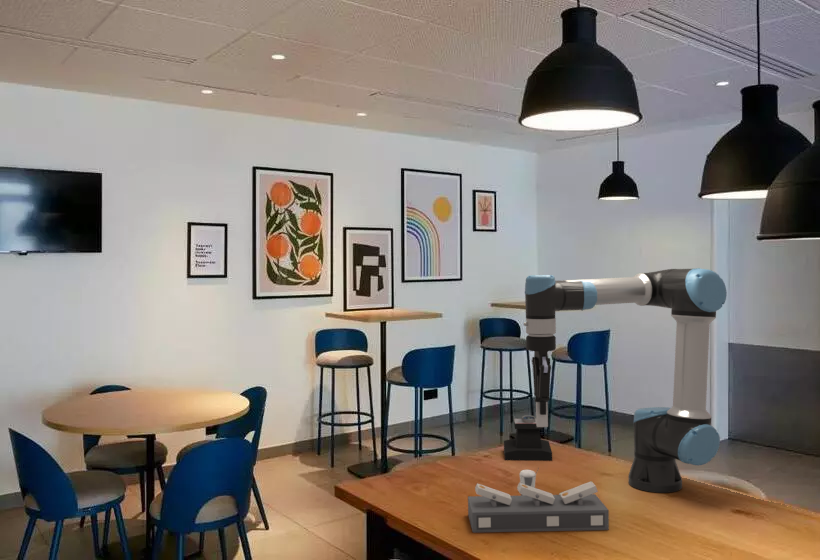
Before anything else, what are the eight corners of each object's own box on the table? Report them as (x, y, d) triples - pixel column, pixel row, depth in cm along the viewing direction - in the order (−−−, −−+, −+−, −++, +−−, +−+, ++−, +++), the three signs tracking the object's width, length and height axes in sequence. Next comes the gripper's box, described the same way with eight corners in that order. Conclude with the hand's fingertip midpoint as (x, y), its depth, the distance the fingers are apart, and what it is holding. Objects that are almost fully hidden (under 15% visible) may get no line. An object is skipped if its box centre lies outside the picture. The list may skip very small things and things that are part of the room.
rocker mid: (549, 498, 179) (551, 492, 179) (553, 505, 175) (555, 498, 175) (516, 487, 179) (519, 481, 179) (519, 493, 174) (522, 487, 174)
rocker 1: (507, 499, 179) (509, 493, 179) (510, 505, 174) (512, 499, 174) (474, 488, 179) (476, 482, 179) (476, 494, 174) (478, 488, 174)
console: (595, 512, 183) (595, 489, 183) (609, 530, 171) (608, 505, 171) (468, 515, 183) (467, 491, 183) (472, 532, 171) (472, 507, 170)
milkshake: (539, 506, 189) (538, 470, 189) (519, 505, 190) (518, 469, 190) (539, 500, 193) (538, 465, 193) (520, 499, 194) (519, 464, 194)
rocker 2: (593, 486, 179) (591, 480, 179) (598, 492, 175) (595, 485, 175) (561, 498, 179) (558, 492, 179) (565, 504, 175) (562, 498, 175)
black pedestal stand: (504, 422, 232) (503, 409, 247) (505, 463, 234) (503, 447, 249) (552, 422, 231) (547, 409, 246) (552, 464, 232) (547, 448, 247)
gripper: (521, 332, 183) (523, 420, 183) (530, 337, 170) (532, 432, 170) (550, 332, 183) (551, 420, 183) (560, 337, 170) (562, 432, 170)
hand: (542, 426), depth 177 cm, fingers closed
